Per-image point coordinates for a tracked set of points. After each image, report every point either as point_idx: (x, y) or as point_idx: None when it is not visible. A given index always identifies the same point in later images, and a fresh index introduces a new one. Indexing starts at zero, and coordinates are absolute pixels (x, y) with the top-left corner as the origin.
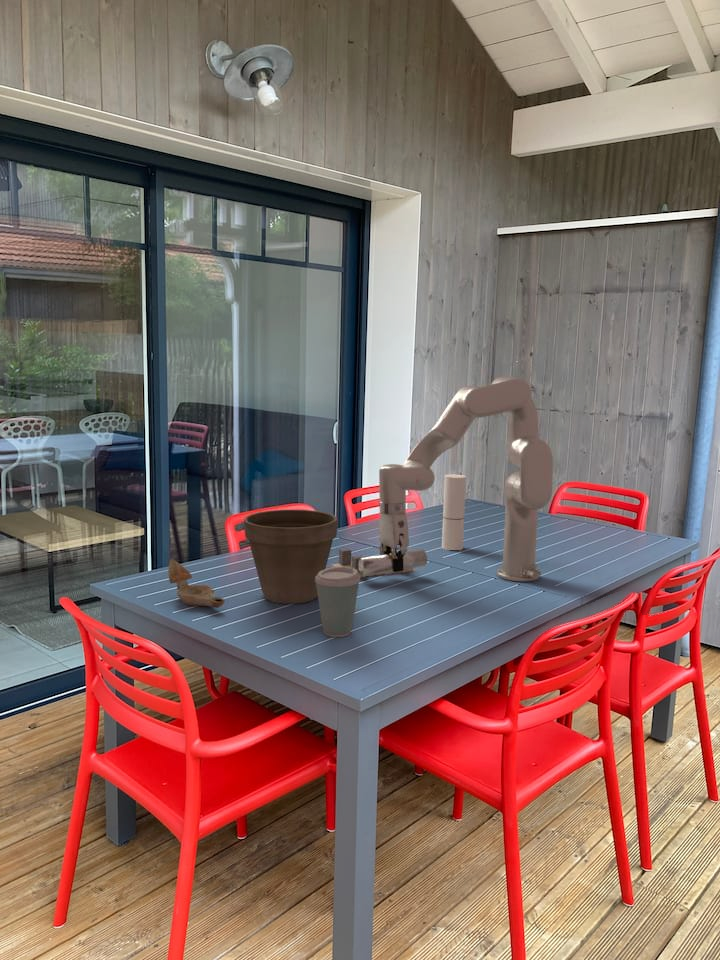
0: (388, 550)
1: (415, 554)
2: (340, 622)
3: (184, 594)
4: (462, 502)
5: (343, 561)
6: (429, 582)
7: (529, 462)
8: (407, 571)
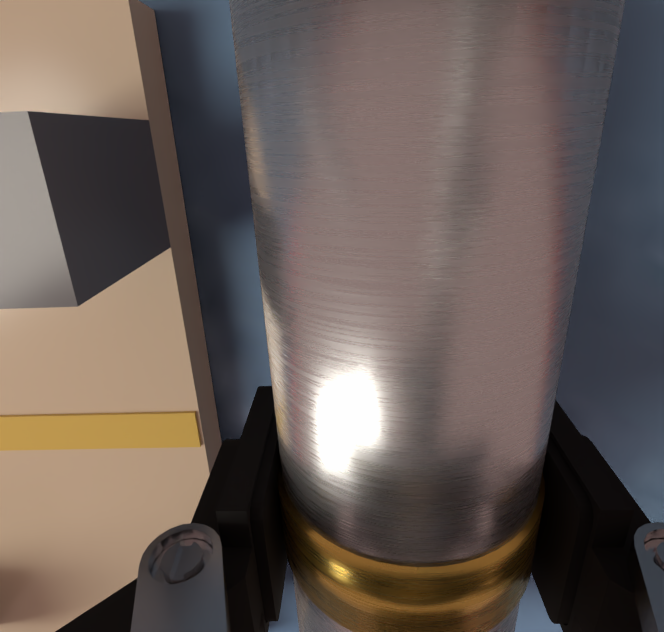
0: (232, 621)
1: (572, 175)
2: None
3: None
4: None
5: None
6: (639, 44)
7: None
8: (166, 96)
